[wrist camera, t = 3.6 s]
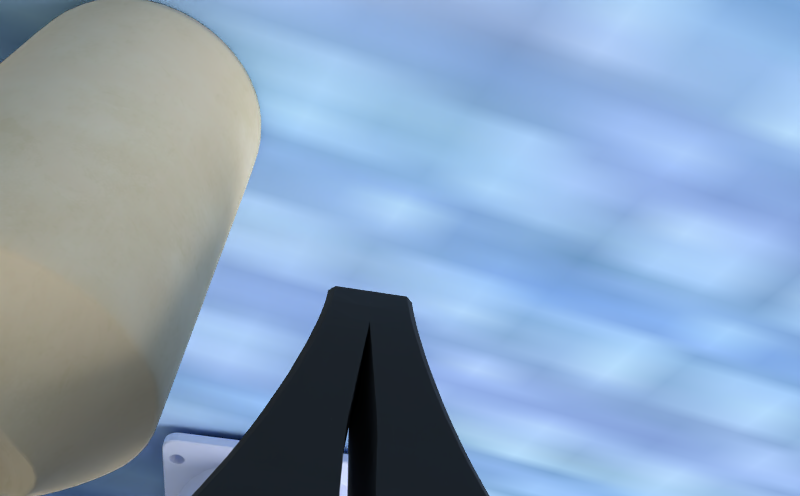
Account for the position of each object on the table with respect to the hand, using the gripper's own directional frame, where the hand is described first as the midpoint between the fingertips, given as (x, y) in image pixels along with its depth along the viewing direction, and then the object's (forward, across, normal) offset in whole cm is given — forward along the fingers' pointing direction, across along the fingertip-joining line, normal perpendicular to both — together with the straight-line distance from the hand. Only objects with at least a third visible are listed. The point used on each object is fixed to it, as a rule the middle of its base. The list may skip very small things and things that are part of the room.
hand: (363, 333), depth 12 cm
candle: (+7, +6, 0) cm, 9 cm away
